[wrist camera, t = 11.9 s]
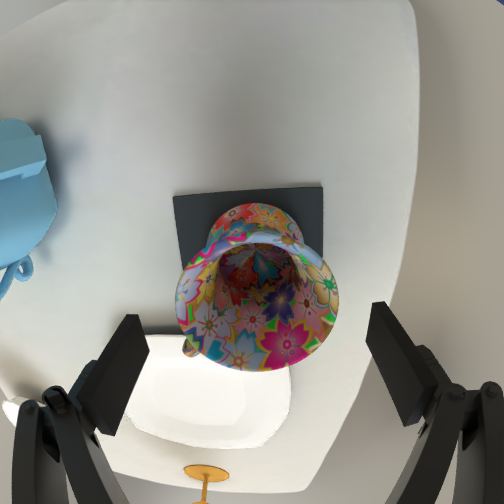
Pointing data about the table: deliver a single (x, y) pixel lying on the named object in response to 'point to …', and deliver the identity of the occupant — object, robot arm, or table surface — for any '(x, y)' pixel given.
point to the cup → (205, 477)
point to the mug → (256, 293)
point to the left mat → (216, 204)
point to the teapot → (22, 199)
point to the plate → (206, 399)
